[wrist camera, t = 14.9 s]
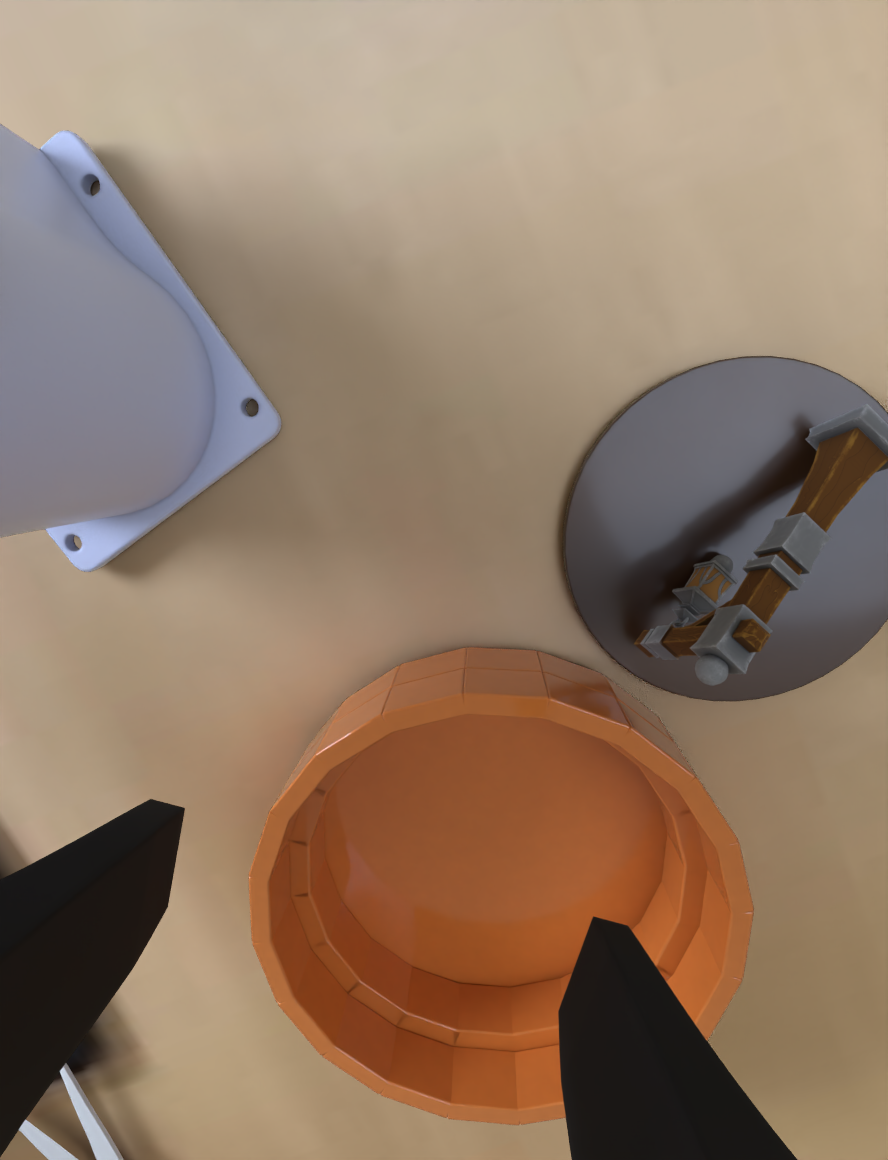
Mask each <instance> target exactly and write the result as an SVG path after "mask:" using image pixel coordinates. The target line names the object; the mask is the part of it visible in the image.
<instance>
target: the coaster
mask: <svg viewBox="0 0 888 1160" xmlns="http://www.w3.org/2000/svg"><path fill="white" fill-rule="evenodd" d="M866 404H868V405H869V406H870V407H871V408H872V409H873V410H874V411H875V412H876V413H877V414H878V415H879V416H880V417H881V418H882V419H883V420H884V421H885V422H886V423H887V424H888V413H887V412H886V410H885V409H884V408H883V407H882V406H881V405H880V404H879V402H878V401H876V400H875V399H874V398H873V397H872V396H870V395H869V394H868V393H867V392H866V391H864V390H863V389H862V388H861V387H860V386H858V385H856V384H855V383H853V382H851V381H850V380H848V379H846V378H845V377H843V376H841V375H840V374H838V373H835V372H833V371H830V370H828V369H826V368H823V367H821V366H818V365H815V364H812V363H808V362H804V361H800V360H796V359H791V358H782V357H773V356H747V357H738V358H732V359H725V360H719V361H716V362H712V363H709V364H705V365H702V366H698V367H695V368H692V369H690V370H687V371H685V372H683V373H680V374H678V375H676V376H674V377H671V378H669V379H667V380H665V381H664V382H662V383H660V384H659V385H657V386H655V387H654V388H652V389H650V390H648V391H647V392H646V393H644V394H643V395H642V396H640V397H639V398H638V399H636V400H635V401H634V402H633V403H631V404H630V405H629V406H627V407H626V408H625V409H624V410H623V411H622V412H621V413H620V414H619V415H618V416H617V417H616V418H615V419H614V420H613V421H612V422H611V423H610V424H609V426H608V427H607V428H606V429H605V431H604V432H603V433H602V434H601V436H600V437H599V438H598V439H597V441H596V442H595V444H594V445H593V447H592V448H591V450H590V452H589V453H588V455H587V457H586V458H585V460H584V462H583V464H582V466H581V468H580V470H579V473H578V475H577V477H576V479H575V482H574V484H573V487H572V490H571V494H570V497H569V500H568V504H567V508H566V515H565V521H564V527H563V556H564V566H565V572H566V577H567V581H568V585H569V589H570V592H571V595H572V597H573V600H574V602H575V605H576V607H577V610H578V612H579V613H580V615H581V617H582V619H583V620H584V622H585V624H586V626H587V627H588V629H589V631H590V632H591V633H592V635H593V636H594V637H595V639H596V640H597V641H598V643H599V644H600V645H601V647H602V648H603V649H604V650H605V651H606V652H607V653H608V654H609V655H610V656H611V657H612V658H613V659H614V660H615V661H616V662H618V663H619V664H620V665H622V666H623V667H624V668H626V669H627V670H628V671H630V672H631V673H632V674H634V675H635V676H637V677H639V678H641V679H643V680H644V681H646V682H648V683H650V684H651V685H654V686H656V687H659V688H661V689H664V690H666V691H669V692H671V693H675V694H679V695H682V696H686V697H690V698H695V699H703V700H710V701H743V700H753V699H760V698H765V697H769V696H774V695H778V694H782V693H785V692H787V691H790V690H793V689H796V688H799V687H802V686H804V685H806V684H808V683H810V682H812V681H814V680H816V679H818V678H821V677H823V676H824V675H826V674H827V673H829V672H831V671H832V670H834V669H835V668H837V667H839V666H840V665H842V664H843V663H844V662H846V661H847V660H848V659H849V658H851V657H852V656H853V655H854V654H856V653H857V652H858V651H859V650H861V649H862V648H863V647H864V645H865V644H866V643H867V642H868V641H869V640H870V639H871V638H872V637H873V636H874V635H875V634H876V633H877V632H878V631H879V630H880V628H881V627H882V626H883V625H884V623H885V622H886V621H887V619H888V469H885V470H882V471H879V472H876V473H874V474H873V475H872V476H871V477H870V478H869V480H868V481H867V482H866V483H865V484H864V485H863V486H862V488H861V489H860V490H859V491H858V492H857V493H856V495H855V496H854V497H853V498H852V499H851V500H850V502H849V503H848V504H847V505H846V506H845V507H844V509H843V510H842V511H841V512H840V513H839V514H838V516H837V517H836V519H835V520H834V522H833V523H832V525H831V526H830V527H829V529H828V530H827V532H826V533H827V534H828V535H829V536H830V537H831V539H830V540H829V541H828V542H827V543H826V544H825V545H824V546H823V548H822V549H821V551H820V553H819V554H818V556H817V558H816V559H815V561H814V562H813V565H812V569H811V573H807V574H800V575H799V576H800V577H801V578H802V579H803V580H804V581H805V582H804V583H802V584H801V585H800V588H799V590H795V591H788V593H787V594H786V596H785V597H784V599H783V600H782V602H781V603H780V605H779V606H778V608H777V609H776V611H775V612H774V614H773V615H772V617H771V618H770V620H769V621H768V623H767V624H766V625H767V626H768V627H769V628H770V629H771V630H772V632H771V633H770V634H771V636H770V637H769V639H768V640H767V642H766V643H765V645H764V646H763V648H762V649H761V651H760V652H756V653H755V655H754V657H753V658H752V660H751V661H750V663H749V665H748V668H747V671H746V674H728V676H727V679H726V680H725V681H724V682H722V683H721V684H717V685H707V684H705V683H703V682H701V681H700V680H699V679H698V677H697V676H696V672H695V665H696V662H697V661H698V659H699V658H700V657H699V656H697V655H696V656H680V657H679V659H678V660H663V659H662V658H660V657H659V658H656V657H650V658H649V657H648V656H647V655H646V654H645V653H643V652H642V651H641V650H640V649H639V648H638V647H637V646H636V645H634V643H635V642H636V640H637V639H638V637H639V636H640V635H641V633H642V632H643V630H650V629H654V630H655V628H656V627H657V626H662V625H669V624H670V623H671V622H673V621H676V620H677V619H678V617H677V615H676V614H675V612H674V611H673V609H680V608H681V607H680V606H679V605H683V603H682V601H681V600H680V599H679V598H678V597H677V596H676V595H675V594H674V593H673V592H672V591H673V589H677V588H684V587H685V585H686V584H687V582H688V580H689V579H690V577H691V575H692V574H693V572H694V568H695V567H694V565H695V564H698V563H703V562H708V561H711V559H712V558H714V557H715V556H717V555H725V556H728V557H729V558H730V559H731V560H732V562H733V570H732V572H731V573H730V574H731V575H732V576H733V577H734V578H735V579H737V580H738V581H739V582H738V584H734V585H733V586H731V587H730V588H729V589H728V591H727V592H726V593H725V594H724V596H723V597H722V598H721V599H720V600H719V602H718V604H717V606H718V607H720V606H722V605H723V604H725V603H726V602H728V601H730V600H731V599H732V598H733V597H734V595H735V594H736V592H737V590H738V589H739V587H740V586H741V584H742V582H743V581H744V579H745V577H746V576H747V573H746V572H745V571H744V570H743V569H742V568H743V567H744V566H746V563H747V560H751V559H756V558H758V557H757V556H756V555H755V554H754V553H753V552H754V551H755V550H756V549H757V548H758V547H759V546H760V545H761V544H762V543H763V541H764V540H765V538H766V537H767V535H768V534H769V532H770V531H771V530H772V527H773V525H774V522H775V520H777V519H781V518H784V517H786V515H787V514H788V512H789V511H790V509H791V507H792V506H793V504H794V503H795V501H796V499H797V497H798V494H799V492H800V490H801V488H802V486H803V484H804V482H805V479H806V477H807V475H808V473H809V471H810V469H811V467H812V464H813V462H814V459H815V456H816V452H817V450H816V449H815V448H814V447H813V446H812V445H811V444H809V443H808V442H807V441H806V440H805V439H806V438H807V437H808V436H809V434H810V430H809V429H810V428H813V427H815V426H817V425H820V424H822V423H824V422H826V421H829V420H831V419H833V418H836V417H838V416H840V415H843V414H845V413H847V412H850V411H852V410H854V409H857V408H859V407H861V406H864V405H866ZM706 615H707V614H700V616H695V617H696V618H697V619H698V620H699V619H701V618H702V617H704V616H706ZM680 622H683V621H681V620H680ZM693 623H694V622H693ZM693 623H686V624H684V627H685V626H688V625H691V624H693ZM673 626H674V627H675V628H680V627H676V626H675V624H674V625H673Z"/></svg>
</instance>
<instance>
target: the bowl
mask: <svg viewBox="0 0 888 1160" xmlns="http://www.w3.org/2000/svg"><path fill="white" fill-rule="evenodd" d="M249 894H250V914H251V934H252V942H253V947H254V949H255V951H256V954H257V956H258V959H259V961H260V963H261V966H262V968H263V971H264V973H265V975H266V978H267V980H268V983H269V985H270V988H271V990H272V992H273V995H274V997H275V1000H276V1002H277V1003H278V1006H279V1007H280V1008H281V1009H282V1010H283V1012H284V1013H285V1014H286V1015H287V1016H288V1017H289V1019H290V1020H291V1021H292V1022H293V1023H294V1025H295V1026H296V1027H297V1028H298V1029H299V1030H300V1032H301V1033H302V1034H303V1035H304V1036H305V1038H306V1039H307V1040H308V1041H309V1042H310V1043H311V1045H312V1046H313V1047H314V1048H315V1049H316V1051H317V1052H318V1053H319V1054H320V1055H322V1056H323V1057H324V1058H325V1059H327V1060H328V1061H330V1062H331V1063H333V1064H334V1065H336V1066H337V1067H339V1068H340V1069H342V1070H343V1071H344V1072H346V1073H347V1074H349V1075H350V1076H352V1077H353V1078H355V1079H356V1080H358V1081H359V1082H361V1083H362V1084H364V1085H365V1086H367V1087H368V1088H370V1089H371V1090H373V1091H374V1092H376V1093H377V1094H381V1095H382V1096H384V1097H387V1098H390V1099H393V1100H395V1101H398V1102H401V1103H404V1104H407V1105H410V1106H413V1107H416V1108H418V1109H421V1110H424V1111H427V1112H430V1113H433V1114H436V1115H439V1116H441V1117H444V1118H447V1117H448V1119H453V1120H465V1121H476V1122H487V1123H498V1124H509V1125H519V1124H521V1125H523V1124H530V1123H536V1122H542V1121H548V1120H555V1119H561V1118H566V1115H565V1108H564V1101H563V1093H562V1086H561V1071H560V1052H559V1019H558V1010H559V1008H560V1005H561V1002H562V999H563V997H564V994H565V991H566V989H567V986H568V983H569V980H570V978H571V975H572V972H573V970H574V967H575V964H576V961H577V959H578V956H579V953H580V951H581V948H582V945H583V942H584V940H585V937H586V934H587V932H588V929H589V926H590V923H591V921H592V918H593V916H594V917H598V918H602V919H605V920H609V921H613V922H617V923H620V924H624V925H628V926H629V928H630V929H631V930H632V932H633V933H634V935H635V936H636V938H637V939H638V940H639V942H640V943H641V945H642V946H643V948H644V949H645V951H646V952H647V954H648V955H649V957H650V958H651V960H652V961H653V963H654V964H655V966H656V967H657V969H658V970H659V972H660V973H661V975H662V976H663V978H664V979H665V981H666V982H667V984H668V985H669V987H670V988H671V990H672V991H673V993H674V994H675V995H676V997H677V998H678V1000H679V1001H680V1003H681V1004H682V1006H683V1007H684V1009H685V1010H686V1012H687V1013H688V1015H689V1016H690V1017H691V1019H692V1020H693V1022H694V1023H695V1025H696V1026H697V1028H698V1029H699V1030H700V1032H701V1033H702V1035H703V1036H704V1038H705V1039H706V1040H708V1038H709V1037H710V1036H711V1034H712V1032H713V1031H714V1029H715V1027H716V1026H717V1024H718V1022H719V1020H720V1019H721V1017H722V1015H723V1013H724V1012H725V1010H726V1008H727V1007H728V1005H729V1003H730V1001H731V1000H732V998H733V996H734V994H735V993H736V991H737V989H738V988H739V986H740V984H741V982H742V978H743V977H744V970H745V964H746V958H747V952H748V945H749V939H750V933H751V927H752V921H753V914H754V912H753V911H754V907H753V902H752V898H751V893H750V889H749V884H748V880H747V875H746V871H745V866H744V862H743V857H742V853H741V848H740V844H739V841H738V838H737V837H736V835H735V834H734V832H733V831H732V829H731V828H730V826H729V825H728V823H727V821H726V820H725V818H724V817H723V815H722V814H721V812H720V811H719V809H718V808H717V806H716V805H715V803H714V801H713V800H712V798H711V797H710V795H709V794H708V792H707V791H706V789H705V788H704V786H703V784H702V783H701V781H700V780H699V778H698V777H697V775H696V774H695V772H694V771H693V769H692V768H691V766H690V764H689V763H688V761H687V760H686V758H685V757H684V755H683V754H682V752H681V751H680V749H679V748H678V746H677V745H676V743H675V742H674V740H673V739H672V737H671V736H670V734H669V733H668V731H667V730H666V728H665V727H664V725H663V723H662V722H661V720H660V719H659V717H657V716H656V715H655V714H654V713H653V712H652V711H650V710H649V709H648V708H646V707H645V706H644V705H642V704H641V703H640V702H639V701H637V700H636V699H635V698H633V697H632V696H631V695H629V694H628V693H627V692H626V691H624V690H623V689H622V688H620V687H619V686H618V685H617V684H615V683H614V682H613V681H611V680H610V679H609V678H607V677H606V676H603V674H601V673H599V672H596V671H593V670H590V669H588V668H585V667H582V666H579V665H576V664H574V663H571V662H568V661H565V660H563V659H560V658H557V657H554V656H551V655H549V654H546V653H543V652H540V651H535V650H515V649H494V648H472V647H468V648H461V649H457V650H453V651H450V652H446V653H442V654H438V655H434V656H430V657H427V658H423V659H419V660H415V661H411V662H407V663H403V664H401V665H400V666H397V667H395V668H394V669H392V670H390V671H389V672H387V673H386V674H384V675H383V676H381V677H380V678H378V679H376V680H375V681H373V682H372V683H370V684H369V685H367V686H365V687H364V688H362V689H361V690H359V691H358V692H356V693H354V694H353V695H351V696H350V697H348V698H347V699H346V700H345V701H344V702H342V704H341V705H340V706H339V707H338V709H337V710H336V711H335V713H334V714H333V715H332V716H331V718H330V719H329V720H328V721H327V723H326V724H325V725H324V726H323V728H322V729H321V730H320V731H319V733H318V734H317V735H316V736H315V738H314V739H313V740H312V742H311V743H310V744H309V745H308V747H307V748H306V750H305V752H304V753H303V755H302V757H301V759H300V760H299V762H298V764H297V765H296V767H295V769H294V771H293V772H292V774H291V776H290V777H289V779H288V781H287V782H286V784H285V786H284V788H283V789H282V791H281V793H280V794H279V796H278V798H277V800H276V801H275V803H274V805H273V806H272V808H271V810H270V812H269V814H268V817H267V820H266V823H265V826H264V829H263V832H262V835H261V838H260V841H259V844H258V848H257V851H256V854H255V857H254V860H253V863H252V866H251V869H250V872H249Z"/></svg>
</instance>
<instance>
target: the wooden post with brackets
mask: <svg viewBox="0 0 888 1160" xmlns="http://www.w3.org/2000/svg"><path fill="white" fill-rule="evenodd" d="M809 430H810V434H809V436H808V437H807V438H806V439H805V440H806V441H807V442H808V443H809V444H811V445H812V446H813V447H814V448H815V449H816V450H817V452H816V456H815V459H814V462H813V464H812V467H811V469H810V471H809V473H808V475H807V477H806V479H805V482H804V484H803V486H802V488H801V490H800V492H799V494H798V497H797V499H796V501H795V503H794V504H793V506H792V507H791V509H790V511H789V512H788V514H787V515H786V517H784V518H781V519H777V520H775V522H774V525H773V527H772V530H771V531H770V532H769V534H768V535H767V537H766V538H765V540H764V541H763V543H762V544H761V545H760V546H759V547H758V548H757V549H756V550H755V551H754V552H753V553H754V554H755V555H756V556H757V557H758V558H756V559H751V560H747V563H746V566H744V567H743V568H742V569H743V570H744V571H745V572H746V573H747V576H746V577H745V579H744V581H743V582H742V584H741V586H740V587H739V589H738V590H737V592H736V594H735V595H734V597H733V598H732V599H731V600H730V601H728V602H726V603H725V604H723V605H722V606H720V607H718V606H717V604H718V602H719V600H720V599H721V598H722V597H723V596H724V594H725V593H726V592H727V591H728V589H729V588H730V587H731V586H733V585H734V584H738V582H739V581H738V580H737V579H735V578H734V577H733V576H732V575H731V574H730V573H731V572H732V570H733V562H732V560H731V559H730V558H729V557H728V556H725V555H717V556H715V557H714V558H712V559H711V561H708V562H703V563H698V564H695V565H694V567H695V568H694V572H693V574H692V575H691V577H690V579H689V580H688V582H687V584H686V585H685V587H684V588H677V589H673V591H672V592H673V593H674V594H675V595H676V596H677V597H678V598H679V599H680V600H681V601H682V603H683V605H679V606H680V607H681V608H680V609H673V611H674V612H675V614H676V615H677V617H678V619H677V620H676V621H673V622H671V623H670V624H669V625H662V626H657V627H656V628H655V630H654V629H650V630H643V632H642V633H641V635H640V636H639V637H638V639H637V640H636V642H635V643H634V645H636V646H637V647H638V648H639V649H640V650H641V651H642V652H643V653H645V654H646V655H647V656H648V657H649V658H650V657H656V658H659V657H660V658H662V659H663V660H678V659H679V657H680V656H696V655H697V656H699V657H700V658H699V659H698V661H697V662H696V665H695V672H696V676H697V677H698V679H699V680H700V681H701V682H703V683H705V684H707V685H717V684H721V683H722V682H724V681H725V680H726V679H727V676H728V674H746V671H747V668H748V665H749V663H750V661H751V660H752V658H753V657H754V655H755V653H756V652H760V651H761V649H762V648H763V646H764V645H765V643H766V642H767V640H768V639H769V637H770V636H771V634H770V633H771V632H772V630H771V629H770V628H769V627H768V626H767V625H766V624H767V623H768V621H769V620H770V618H771V617H772V615H773V614H774V612H775V611H776V609H777V608H778V606H779V605H780V603H781V602H782V600H783V599H784V597H785V596H786V594H787V593H788V591H795V590H799V588H800V585H801V584H802V583H804V582H805V581H804V580H803V579H802V578H801V577H800V576H799V575H800V574H807V573H811V569H812V565H813V562H814V561H815V559H816V558H817V556H818V554H819V553H820V551H821V549H822V548H823V546H824V545H825V544H826V543H827V542H828V541H829V540H830V539H831V537H830V536H829V535H828V534H827V533H826V532H827V530H828V529H829V527H830V526H831V525H832V523H833V522H834V520H835V519H836V517H837V516H838V514H839V513H840V512H841V511H842V510H843V509H844V507H845V506H846V505H847V504H848V503H849V502H850V500H851V499H852V498H853V497H854V496H855V495H856V493H857V492H858V491H859V490H860V489H861V488H862V486H863V485H864V484H865V483H866V482H867V481H868V480H869V478H870V477H871V476H872V475H873V474H874V473H876V472H879V471H882V470H885V469H888V424H887V423H886V422H885V421H884V420H883V419H882V418H881V417H880V416H879V415H878V414H877V413H876V412H875V411H874V410H873V409H872V408H871V407H870V406H869V405H868V404H866V405H864V406H861V407H859V408H857V409H854V410H852V411H850V412H847V413H845V414H843V415H840V416H838V417H836V418H833V419H831V420H829V421H826V422H824V423H822V424H820V425H817V426H815V427H813V428H810V429H809ZM700 614H707V615H706V616H704V617H702V618H701V619H699V620H698V619H697V618H696V617H695V616H700ZM680 620H681V621H683V622H680ZM693 622H694V623H693ZM686 623H693V624H691V625H688V626H685V627H684V624H686ZM674 624H675V626H676V627H680V628H675V627H674V626H673V625H674Z"/></svg>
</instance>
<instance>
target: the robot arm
mask: <svg viewBox="0 0 888 1160" xmlns="http://www.w3.org/2000/svg"><path fill="white" fill-rule="evenodd" d="M97 180H99V182H100V190H99V192H98V193H97V194H96V195H94V196H92V194H91V192H90V191H91V185H92V184H93V182H94V181H97ZM251 399H254V400H256V401H257V403H258V405H259V411H258V413H257V414H256V415H255V416H253V417H251V416H250V415H249V414H248V413H247V410H246V404H247V403H248V401H249V400H251ZM280 429H281V418H280V416H279V414H278V412H277V411H276V409H275V408H274V406H273V405H272V403H271V402H270V401H269V399H268V398H267V396H266V395H265V394H264V392H263V391H262V389H261V388H260V387H259V385H258V384H257V382H256V381H255V379H254V378H253V377H252V375H251V374H250V372H249V371H248V370H247V368H246V367H245V365H244V364H243V363H242V361H241V360H240V358H239V357H238V355H237V354H236V353H235V351H234V350H233V348H232V347H231V346H230V344H229V343H228V341H227V340H226V339H225V337H224V336H223V334H222V333H221V331H220V330H219V329H218V327H217V326H216V324H215V323H214V322H213V320H212V319H211V317H210V316H209V315H208V313H207V312H206V310H205V309H204V307H203V306H202V305H201V303H200V302H199V300H198V299H197V298H196V296H195V295H194V293H193V292H192V291H191V289H190V288H189V286H188V285H187V283H186V282H185V281H184V279H183V278H182V276H181V275H180V274H179V272H178V271H177V269H176V268H175V267H174V265H173V264H172V262H171V261H170V259H169V258H168V257H167V255H166V254H165V252H164V251H163V250H162V248H161V247H160V245H159V244H158V242H157V241H156V240H155V238H154V237H153V235H152V234H151V233H150V231H149V230H148V228H147V227H146V226H145V224H144V223H143V221H142V220H141V218H140V217H139V216H138V214H137V213H136V211H135V210H134V209H133V207H132V206H131V204H130V203H129V202H128V200H127V199H126V197H125V196H124V194H123V193H122V192H121V190H120V189H119V187H118V186H117V185H116V183H115V182H114V180H113V179H112V178H111V176H110V175H109V173H108V172H107V170H106V169H105V168H104V166H103V165H102V163H101V162H100V161H99V159H98V158H97V156H96V155H95V154H94V152H93V151H92V149H91V148H90V146H89V145H88V144H87V143H86V142H85V141H84V140H83V139H82V138H81V137H79V136H78V135H77V134H75V133H73V132H71V131H60V132H59V133H57V134H55V135H54V136H53V137H52V138H51V139H50V140H49V141H48V142H47V143H46V144H44V145H43V146H42V147H41V148H40V149H37V148H36V147H34V146H33V145H31V144H30V143H28V142H27V141H25V140H24V139H22V138H21V137H19V136H18V135H16V134H15V133H13V132H12V131H10V130H9V129H7V128H6V127H5V126H3V125H2V124H0V537H6V536H11V535H16V534H22V533H27V532H32V531H38V530H43V529H45V530H46V531H47V532H48V534H49V535H50V536H51V537H52V539H53V540H54V541H55V542H56V544H57V545H58V546H59V547H60V549H61V550H62V551H63V552H64V554H65V555H66V556H67V557H68V559H69V560H70V561H71V562H72V564H73V565H74V566H75V567H76V568H78V569H79V570H81V571H84V572H91V571H94V570H97V569H99V568H102V567H103V566H104V565H106V564H107V563H108V562H110V561H111V560H112V559H114V558H115V557H116V556H118V555H119V554H120V553H122V552H123V551H124V550H126V549H127V548H128V547H130V546H131V545H132V544H134V543H135V542H136V541H138V540H139V539H140V538H142V537H143V536H144V535H146V534H147V533H148V532H150V531H151V530H152V529H154V528H155V527H156V526H158V525H159V524H160V523H162V522H163V521H164V520H166V519H167V518H168V517H170V516H171V515H172V514H174V513H175V512H176V511H178V510H179V509H180V508H182V507H183V506H184V505H186V504H187V503H188V502H190V501H191V500H192V499H194V498H195V497H196V496H198V495H199V494H200V493H202V492H203V491H204V490H206V489H207V488H208V487H210V486H211V485H212V484H214V483H215V482H216V481H218V480H219V479H220V478H221V477H223V476H224V475H225V474H227V473H228V472H229V471H231V470H232V469H233V468H235V467H236V466H237V465H239V464H240V463H241V462H243V461H244V460H245V459H247V458H248V457H249V456H251V455H252V454H253V453H255V452H256V451H257V450H259V449H260V448H261V447H263V446H264V445H265V444H267V443H268V442H269V441H271V440H272V439H273V438H275V437H276V436H277V434H278V433H279V432H280ZM75 535H77V536H78V537H79V538H80V539H81V541H82V547H81V548H80V549H79V548H78V547H77V546H76V545H75V543H74V536H75ZM184 810H185V808H183V807H179V806H175V805H171V804H167V803H164V802H160V801H156V800H152V799H150V800H148V801H146V802H144V803H142V804H141V805H139V806H137V807H135V808H133V809H131V810H130V811H128V812H126V813H124V814H122V815H120V816H119V817H117V818H115V819H113V820H111V821H110V822H108V823H106V824H104V825H103V826H101V827H99V828H97V829H95V830H94V831H92V832H90V833H88V834H86V835H85V836H83V837H81V838H79V839H77V840H76V841H74V842H72V843H70V844H68V845H66V846H64V847H63V848H61V849H59V850H57V851H55V852H53V853H51V854H49V855H48V856H46V857H44V858H42V859H40V860H38V861H36V862H35V863H33V864H31V865H29V866H27V867H25V868H23V869H21V870H19V871H17V872H15V873H13V874H11V875H9V876H7V877H5V878H3V879H1V880H0V1157H1V1155H2V1154H3V1152H4V1151H5V1149H6V1148H7V1146H8V1145H9V1143H10V1142H11V1140H12V1139H13V1137H14V1136H15V1134H16V1133H17V1131H18V1130H19V1128H20V1127H21V1125H22V1124H23V1122H24V1121H25V1119H26V1118H27V1117H28V1115H29V1114H30V1112H31V1111H32V1110H33V1108H34V1107H35V1105H36V1104H37V1103H38V1101H39V1100H40V1098H41V1097H42V1096H43V1094H44V1093H45V1091H46V1090H47V1089H48V1087H49V1086H50V1084H51V1083H52V1082H53V1080H54V1079H55V1077H56V1076H57V1075H58V1073H59V1072H60V1070H61V1069H62V1068H63V1066H64V1065H65V1063H66V1062H67V1061H68V1059H69V1058H70V1056H71V1055H72V1054H73V1052H74V1051H75V1049H76V1048H77V1047H78V1045H79V1044H80V1042H81V1041H82V1040H83V1038H84V1037H85V1036H86V1034H87V1033H88V1031H89V1030H90V1029H91V1027H92V1026H93V1024H94V1023H95V1022H96V1020H97V1019H98V1017H99V1016H100V1014H101V1013H102V1012H103V1010H104V1009H105V1007H106V1006H107V1005H108V1003H109V1002H110V1000H111V999H112V998H113V996H114V995H115V993H116V992H117V990H118V989H119V988H120V986H121V985H122V983H123V982H124V980H125V979H126V978H127V976H128V975H129V973H130V972H131V970H132V969H133V967H134V966H135V964H136V962H137V961H138V959H139V957H140V955H141V954H142V952H143V950H144V948H145V947H146V945H147V943H148V942H149V940H150V938H151V936H152V934H153V933H154V931H155V929H156V927H157V925H158V924H159V922H160V920H161V918H162V916H163V915H164V913H165V911H166V909H167V907H168V902H169V896H170V891H171V885H172V879H173V873H174V868H175V862H176V856H177V851H178V845H179V839H180V833H181V828H182V822H183V816H184ZM558 1019H559V1052H560V1071H561V1086H562V1093H563V1101H564V1108H565V1115H566V1122H567V1129H568V1136H569V1143H570V1150H571V1157H572V1160H797V1159H796V1157H795V1156H794V1155H793V1154H792V1152H791V1151H790V1150H789V1149H788V1148H787V1146H786V1145H785V1144H784V1143H783V1141H782V1140H781V1139H780V1138H779V1136H778V1135H777V1134H776V1133H775V1131H774V1130H773V1129H772V1128H771V1126H770V1125H769V1124H768V1122H767V1121H766V1120H765V1119H764V1117H763V1116H762V1115H761V1113H760V1112H759V1111H758V1109H757V1108H756V1107H755V1105H754V1104H753V1103H752V1102H751V1100H750V1099H749V1098H748V1096H747V1095H746V1094H745V1092H744V1091H743V1090H742V1088H741V1087H740V1086H739V1085H738V1083H737V1082H736V1081H735V1079H734V1078H733V1076H732V1075H731V1074H730V1072H729V1071H728V1070H727V1068H726V1067H725V1065H724V1064H723V1063H722V1061H721V1060H720V1059H719V1057H718V1056H717V1054H716V1053H715V1052H714V1050H713V1049H712V1047H711V1046H710V1045H709V1043H708V1042H707V1040H706V1039H705V1038H704V1036H703V1035H702V1033H701V1032H700V1030H699V1029H698V1028H697V1026H696V1025H695V1023H694V1022H693V1020H692V1019H691V1017H690V1016H689V1015H688V1013H687V1012H686V1010H685V1009H684V1007H683V1006H682V1004H681V1003H680V1001H679V1000H678V998H677V997H676V995H675V994H674V993H673V991H672V990H671V988H670V987H669V985H668V984H667V982H666V981H665V979H664V978H663V976H662V975H661V973H660V972H659V970H658V969H657V967H656V966H655V964H654V963H653V961H652V960H651V958H650V957H649V955H648V954H647V952H646V951H645V949H644V948H643V946H642V945H641V943H640V942H639V940H638V939H637V938H636V936H635V935H634V933H633V932H632V930H631V929H630V928H629V926H628V925H624V924H620V923H617V922H613V921H609V920H605V919H602V918H598V917H594V916H593V918H592V921H591V923H590V926H589V929H588V932H587V934H586V937H585V940H584V942H583V945H582V948H581V951H580V953H579V956H578V959H577V961H576V964H575V967H574V970H573V972H572V975H571V978H570V980H569V983H568V986H567V989H566V991H565V994H564V997H563V999H562V1002H561V1005H560V1008H559V1010H558Z"/></svg>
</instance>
